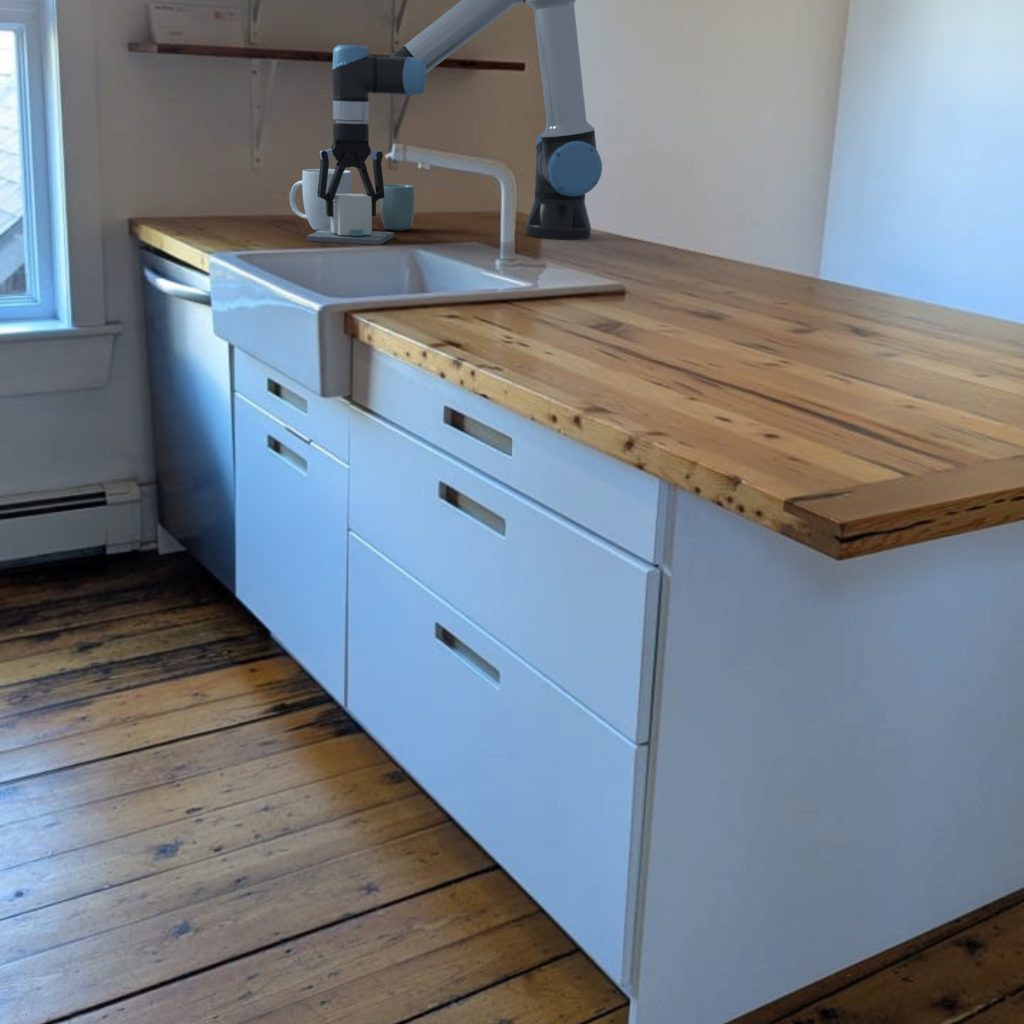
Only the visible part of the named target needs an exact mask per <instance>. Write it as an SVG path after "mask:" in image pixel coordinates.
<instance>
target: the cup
mask: <svg viewBox="0 0 1024 1024" xmlns="http://www.w3.org/2000/svg"><path fill="white" fill-rule="evenodd" d="M383 185H384V194H385V196H384V198H381V199H379V201H380V204H379V205H380V206H379V207H380V218H381V222H382V225H383V226H384V228H385V229H387V230H388V231H392V232H395V231H396V232H403V231H407V230H409V229H410V228H411V227H412V225H413V221H414V216H415V204H416V203H415V201H416V197H415V196H416V194H415V193H416V190H415V187H416V186H415V185H412V184H399V183H390V184H389V183H386V184H384V183H383Z"/></svg>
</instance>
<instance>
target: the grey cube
mask: <svg viewBox="0 0 1024 1024" xmlns="http://www.w3.org/2000/svg"><path fill="white" fill-rule="evenodd" d="M333 201H336V202H337V233H336V234H338V235H351V236H363V235H371V197H370V196H367V194H364V193H351V194H336V195H335V197H334V200H333Z"/></svg>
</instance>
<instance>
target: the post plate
mask: <svg viewBox="0 0 1024 1024" xmlns="http://www.w3.org/2000/svg"><path fill="white" fill-rule="evenodd" d="M394 237H395V231H392V232H391V231H376V230H375V231H373V230H372V232H371V235H363V236H351V235H338V234H336V233H333V232H331V229H322V230H319V231H318V230H315V232H313V233H311V234H308V235H306V241H307V242H322V243H324V242H325V243H341V244H355V245H356V244H359V245H382V244H384V243H386V242H387V241H390V240H391V239H393V238H394Z"/></svg>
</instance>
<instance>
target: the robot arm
mask: <svg viewBox="0 0 1024 1024" xmlns="http://www.w3.org/2000/svg"><path fill="white" fill-rule="evenodd" d="M576 1H577V0H460V1H459V2H457V3H456V4H455V5H454V6H452V7H451V8H450V9H449V10H447V11H446V12H445V13H444V14H442V15H441V16H440V17H438V18H437V19H436V20H435V21H433V22H432V23H431V24H430V25H428V26H427V27H426V28H425V29H423V30H422V31H421V32H419V33H418V34H417V35H416V36H414V37H413V38H412V39H410V41H408V42H407V43H405V44H404V45H403V46H402V47H400V48H399V49H398V50H397V51H395V52H394V53H393V54H391V55H390V56H376V55H370V52H369V51H370V50H369V48H368V46H367V45H350V44H338V45H336V46H335V47H334V48H333V51H332V119H333V120H334V121H335V122H334V123H333V124H332V139H333V140H332V142H333V143H332V146H331V147H330V149H326V150H322V149H320V150H319V151H318V156H319V161H320V164H319V169H320V173H319V182H318V192H317V196H318V197H320V198H322V199H324V200H325V201H326V214H327V216H328V217H331V232H333V233H337V202H336V201H333V200H334V197H335V195H336V192H337V189H338V186H339V183H340V180H341V177H342V174H343V172H344V171H345V170H346V168H351V167H353V168H356V169H357V171H358V173H359V175H360V178H361V179H360V180H361V182H362V184H363V187H364V190H365V193H366V195H367V196H370V197H371V232H372V231H373V225H372V224H373V217H376V214H377V201H379V200H380V199H381V198H384V196H385V194H384V177H383V167H382V166H383V165H382V161H383V157H384V154H383V152H382V151H381V150H374V149H371V147H370V145H369V139H370V138H369V136H370V135H369V131H370V130H369V128H370V126H369V125H368V123H367V122H368V121H369V119H370V116H369V114H370V113H369V111H370V110H369V103H370V102H369V99H370V98H369V95H370V94H374V95H375V94H380V95H381V94H383V95H384V94H386V95H402V96H403V95H405V96H413V95H414V96H418V95H419V96H420V95H424V93H425V91H426V83H427V82H426V81H427V80H426V77H427V73H429V72H430V71H431V70H433V69H434V68H435V67H437V66H438V65H439V64H440V63H443V61H444V60H446V59H447V58H448V57H449V56H451V55H452V54H454V53H455V52H456V51H457V50H458V49H460V48H461V47H462V46H463V45H465V44H466V43H467V42H469V41H470V40H471V39H472V38H474V37H475V36H476V35H478V34H480V32H482V31H484V30H485V28H487V27H488V26H489V25H491V24H492V23H493V22H495V21H496V20H497V19H498V18H500V17H501V16H503V15H504V14H505V13H506V12H507V11H509V10H510V9H512V8H513V7H514V6H515V5H524V4H527V5H528V6H530V8H532V10H533V16H534V26H535V33H536V43H537V49H538V51H537V52H538V58H539V59H538V61H539V67H540V77H541V84H542V93H543V101H544V102H543V103H544V111H545V119H546V127H545V129H544V131H543V132H541V133H539V134H538V136H537V139H536V144H535V151H536V154H535V155H536V156H535V157H536V158H535V179H534V181H535V182H534V200H533V204H532V207H531V209H530V212H529V215H528V217H527V220H526V224H525V235H527V236H529V237H535V238H541V239H542V238H543V239H552V240H553V239H557V240H558V239H559V240H579V239H588V238H591V234H592V233H591V232H592V226H591V222H590V217H589V214H588V211H587V206H586V202H585V200H586V194H588V193H589V192H590V191H592V190H593V189H594V188H595V187H596V185H597V184H598V183H599V181H600V179H601V176H602V173H603V172H602V171H603V163H602V159H601V155H600V154H599V151H598V150H597V142H596V132H595V127H594V126H592V125H591V124H590V123H589V122H588V121H587V113H586V104H585V103H586V102H585V95H584V86H583V85H584V84H583V76H582V68H581V67H582V66H581V65H582V64H581V59H580V58H581V57H580V49H579V38H578V30H577V21H576V12H575V11H576V10H575V3H576ZM332 156H333V157H334V159H335V160H336V164H335V167H334V169H335V171H334V174H333V177H332V180H331V183H330V185H329V188H328V191H327V194H326V187H327V178H328V169H330V160H331V158H332ZM369 156H370V160H371V161H372V168H373V169H372V171H373V178H374V179H373V180H374V186H373V184H372V180H371V178H370V174H369V172H368V167H367V165H366V160H367V159H368V158H369ZM374 188H375V189H374Z"/></svg>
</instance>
